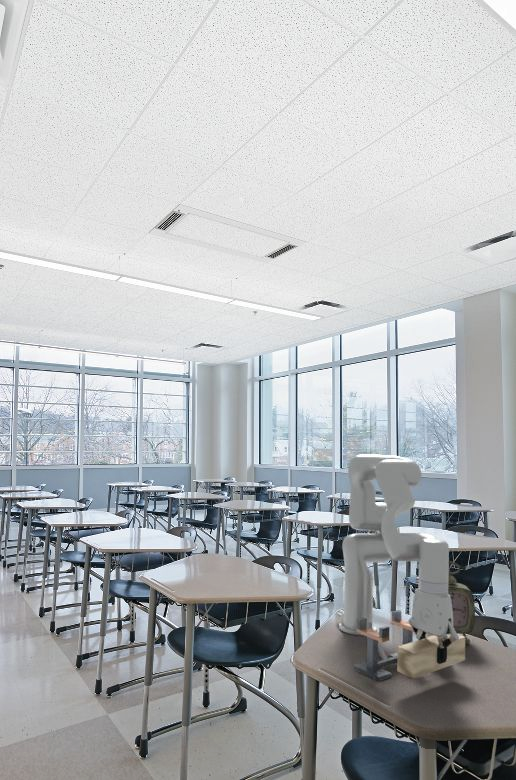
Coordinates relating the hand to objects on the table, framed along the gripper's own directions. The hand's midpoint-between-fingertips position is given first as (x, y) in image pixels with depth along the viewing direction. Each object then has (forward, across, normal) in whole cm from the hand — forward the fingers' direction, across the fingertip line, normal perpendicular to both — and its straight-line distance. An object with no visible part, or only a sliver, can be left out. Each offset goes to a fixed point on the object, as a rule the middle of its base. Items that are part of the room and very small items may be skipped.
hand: (432, 657), depth 140 cm
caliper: (+8, -23, +6) cm, 25 cm away
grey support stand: (+7, -13, 0) cm, 15 cm away
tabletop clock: (+8, -18, +35) cm, 40 cm away
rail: (+2, 0, 0) cm, 2 cm away
